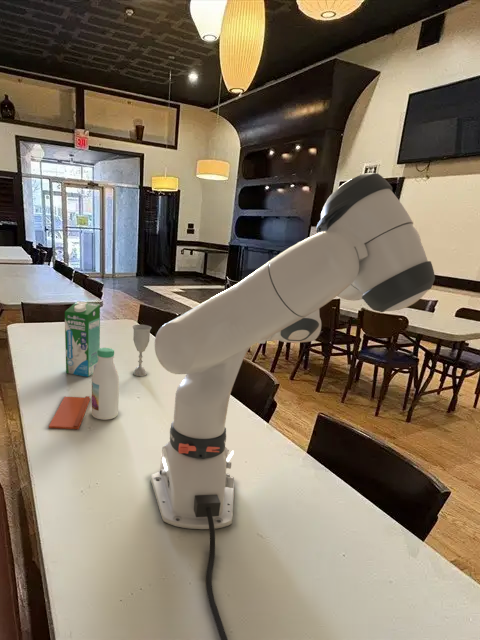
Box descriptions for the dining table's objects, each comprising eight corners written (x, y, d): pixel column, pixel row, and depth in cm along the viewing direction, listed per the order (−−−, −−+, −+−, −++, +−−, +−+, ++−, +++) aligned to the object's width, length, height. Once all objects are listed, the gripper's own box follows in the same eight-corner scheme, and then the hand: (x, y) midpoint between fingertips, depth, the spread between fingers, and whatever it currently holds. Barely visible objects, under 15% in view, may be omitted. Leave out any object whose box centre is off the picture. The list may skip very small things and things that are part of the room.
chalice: (128, 371, 157) (129, 324, 151) (144, 369, 160) (147, 324, 153) (134, 377, 151) (136, 329, 144) (151, 376, 154) (154, 329, 147)
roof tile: (78, 429, 112) (78, 425, 112) (48, 428, 111) (48, 424, 111) (90, 399, 130) (90, 396, 130) (64, 398, 130) (64, 395, 130)
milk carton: (65, 372, 150) (64, 304, 141) (78, 365, 158) (77, 300, 149) (88, 377, 148) (88, 308, 139) (99, 369, 156) (100, 303, 147)
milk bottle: (120, 410, 125) (121, 346, 118) (115, 421, 118) (117, 354, 111) (94, 407, 125) (94, 344, 118) (88, 419, 118) (88, 352, 111)
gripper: (252, 305, 122) (206, 302, 121) (269, 321, 103) (214, 317, 102) (249, 326, 124) (204, 323, 123) (265, 345, 105) (212, 342, 104)
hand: (209, 320), depth 112 cm, fingers closed
